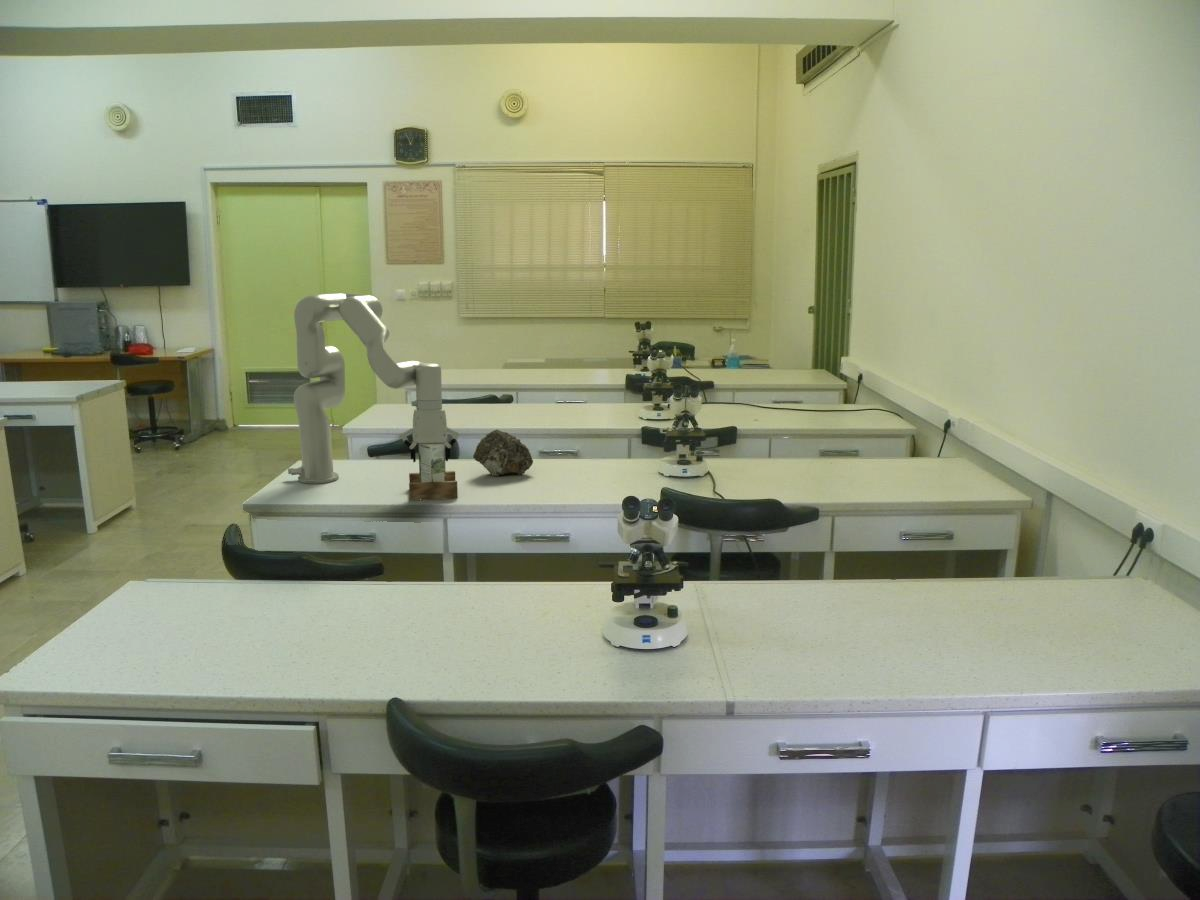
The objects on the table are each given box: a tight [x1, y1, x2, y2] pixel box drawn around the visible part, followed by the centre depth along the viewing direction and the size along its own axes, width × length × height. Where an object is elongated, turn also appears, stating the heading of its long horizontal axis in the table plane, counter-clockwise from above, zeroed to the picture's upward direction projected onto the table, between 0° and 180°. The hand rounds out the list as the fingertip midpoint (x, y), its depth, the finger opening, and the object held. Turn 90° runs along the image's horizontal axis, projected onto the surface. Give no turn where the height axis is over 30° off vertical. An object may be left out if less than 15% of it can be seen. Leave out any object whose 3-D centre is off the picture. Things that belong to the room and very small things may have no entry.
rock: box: [472, 429, 534, 476], centre depth 301 cm, size 18×14×15 cm
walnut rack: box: [408, 470, 459, 501], centre depth 276 cm, size 14×14×5 cm
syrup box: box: [418, 443, 447, 482], centre depth 275 cm, size 6×6×14 cm
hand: (430, 460), depth 275 cm, fingers open, 9 cm apart
